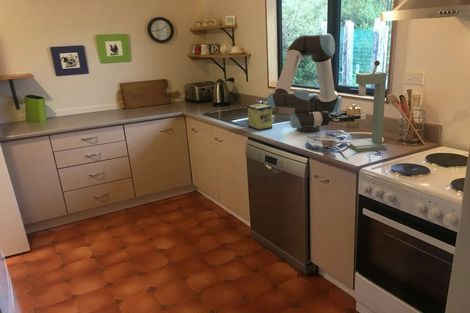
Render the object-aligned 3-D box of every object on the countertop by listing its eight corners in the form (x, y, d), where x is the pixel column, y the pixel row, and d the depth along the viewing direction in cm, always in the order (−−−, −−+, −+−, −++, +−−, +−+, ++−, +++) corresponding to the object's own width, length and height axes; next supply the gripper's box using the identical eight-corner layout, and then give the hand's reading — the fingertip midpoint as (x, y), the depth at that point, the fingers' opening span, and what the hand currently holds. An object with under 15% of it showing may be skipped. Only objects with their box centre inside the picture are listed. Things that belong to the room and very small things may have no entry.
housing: (344, 126, 199) (344, 103, 196) (356, 124, 200) (357, 102, 196) (349, 129, 193) (349, 106, 189) (362, 127, 193) (363, 105, 190)
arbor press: (345, 144, 208) (347, 60, 194) (372, 141, 210) (376, 58, 195) (357, 152, 193) (360, 62, 179) (386, 149, 194) (392, 59, 180)
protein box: (260, 131, 249) (259, 108, 244) (248, 127, 262) (247, 105, 257) (273, 128, 253) (272, 106, 249) (260, 124, 267) (259, 103, 262)
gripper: (314, 121, 204) (354, 118, 205) (326, 130, 185) (370, 126, 187) (314, 108, 201) (354, 104, 203) (326, 115, 182) (371, 111, 184)
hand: (362, 114), depth 195 cm, fingers closed on housing, 7 cm apart
